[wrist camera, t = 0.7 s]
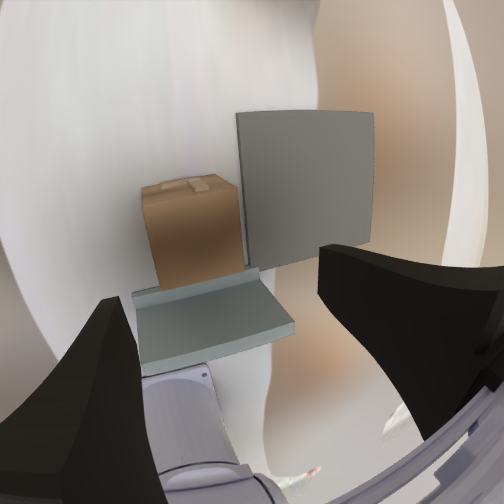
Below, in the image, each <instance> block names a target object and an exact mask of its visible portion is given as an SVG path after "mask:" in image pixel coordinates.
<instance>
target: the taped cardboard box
mask: <svg viewBox="0 0 504 504" xmlns="http://www.w3.org/2000/svg"><path fill="white" fill-rule="evenodd" d="M141 192H142V209H143V214H144V219H145V224H146V229H147V233H148V238H149V242H150V247H151V251H152V256H153V260H154V264H155V268H156V272H157V276H158V280H159V284H160V288H161V292H163V291H167V290H171V289H175V288H179V287H184V286H188V285H192V284H196V283H200V282H204V281H208V280H212V279H217V278H221V277H225V276H229V275H233V274H237V273H241V272H245V264H244V254H243V243H242V233H241V222H240V211H239V200H238V190H237V187H235V186H234V185H232V184H230V183H229V182H227V181H225V180H224V179H222V178H220V177H219V176H217V175H215V174H212V175H206V176H200V177H192V178H186V179H181V180H175V181H170V182H165V183H160V184H158V185H153V186H148V187H143V188H141Z"/></svg>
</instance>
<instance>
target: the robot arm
mask: <svg viewBox="0 0 504 504" xmlns="http://www.w3.org/2000/svg"><path fill="white" fill-rule="evenodd" d="M317 294H318V295H319V296H320V298H321V300H322V301H323V302H324V304H325V305H326V307H327V308H328V309H329V311H330V312H331V313H332V314H333V315H334V316H335V318H336V319H337V320H338V321H339V322H340V323H341V324H342V325H343V326H344V327H345V328H346V329H347V330H348V331H349V332H350V333H351V334H352V335H353V336H354V337H355V338H356V339H357V340H358V341H359V342H360V343H361V344H362V345H363V346H364V347H365V348H366V349H367V350H368V352H369V353H370V354H371V355H372V356H373V357H374V359H375V360H376V361H377V363H378V364H379V365H380V367H381V368H382V369H383V371H384V372H385V373H386V375H387V376H388V378H389V379H390V381H391V382H392V384H393V385H394V386H395V388H396V389H397V391H398V393H399V394H400V396H401V398H402V399H403V401H404V403H405V404H406V406H407V408H408V410H409V411H410V413H411V415H412V417H413V419H414V421H415V423H416V425H417V427H418V429H419V431H420V433H421V436H422V438H423V440H424V441H425V442H423V443H422V444H421V445H420V446H418V447H417V448H416V449H414V450H413V451H412V452H410V453H409V454H408V455H406V456H405V457H403V458H402V459H401V460H399V461H398V462H397V463H395V464H393V465H392V466H390V467H389V468H387V469H386V470H385V471H383V472H381V473H380V474H378V475H377V476H375V477H373V478H372V479H370V480H368V481H367V482H365V483H364V484H362V485H360V486H358V487H357V488H355V489H353V490H351V491H350V492H348V493H346V494H344V495H342V496H340V497H338V498H336V499H334V500H332V501H330V502H328V503H326V504H378V503H379V502H381V501H383V500H384V499H385V498H387V497H389V496H390V495H391V494H393V493H395V492H396V491H397V490H399V489H400V488H402V487H403V486H404V485H406V484H407V483H408V482H410V481H411V480H412V479H414V478H415V477H417V476H418V475H419V474H420V473H422V472H423V471H424V470H425V469H427V468H428V467H429V466H430V465H431V464H433V463H434V462H435V461H436V460H437V459H439V458H440V457H441V456H442V455H443V454H444V453H445V452H446V451H448V450H449V449H450V448H451V447H452V446H453V445H454V444H455V443H456V442H457V441H458V440H459V439H460V438H461V437H462V436H463V435H464V434H465V433H466V432H467V431H468V430H469V431H468V436H469V438H468V439H467V440H466V441H465V442H464V443H463V444H462V445H461V447H460V448H459V449H458V450H457V451H456V452H455V453H454V454H453V455H452V456H451V457H450V458H449V459H448V460H447V461H446V462H445V463H444V464H443V465H442V466H441V467H440V468H439V469H438V470H437V471H435V472H434V476H435V477H436V478H437V479H438V481H439V482H440V485H439V486H438V487H436V488H435V489H434V490H433V491H432V492H430V493H429V494H428V495H427V496H426V497H424V498H423V499H422V500H420V501H419V502H418V503H416V504H504V266H498V267H483V268H463V267H448V266H438V265H431V264H424V263H418V262H413V261H408V260H404V259H399V258H394V257H390V256H386V255H382V254H378V253H374V252H371V251H366V250H363V249H358V248H354V247H350V246H345V245H340V244H330V245H326V246H322V247H319V269H318V292H317ZM203 373H204V374H203ZM0 504H288V502H287V500H286V498H285V496H284V494H283V492H282V491H281V489H280V488H279V487H278V485H277V484H276V483H275V482H274V481H273V480H271V479H269V478H268V477H266V476H265V475H263V474H261V473H255V474H253V473H252V471H251V469H250V467H249V465H248V464H243V465H240V463H239V461H238V458H237V456H236V454H235V452H234V449H233V447H232V445H231V442H230V440H229V438H228V435H227V433H226V430H225V428H224V425H223V417H222V414H221V411H220V407H219V404H218V400H217V397H216V393H215V389H214V386H213V382H212V378H211V375H210V371H209V368H208V366H207V365H206V364H201V365H197V366H193V367H190V368H186V369H182V370H178V371H174V372H169V373H165V374H161V375H157V376H152V377H148V378H143V379H142V377H141V366H140V361H139V355H138V349H137V344H136V341H135V339H134V336H133V334H132V331H131V328H130V326H129V323H128V321H127V318H126V315H125V313H124V310H123V307H122V304H121V301H120V298H119V296H116V297H112V298H107V299H103V300H101V301H100V302H99V304H98V305H97V307H96V308H95V310H94V311H93V313H92V315H91V316H90V318H89V319H88V321H87V322H86V324H85V325H84V327H83V328H82V330H81V332H80V333H79V335H78V336H77V338H76V339H75V341H74V342H73V343H72V345H71V346H70V348H69V349H68V350H67V352H66V353H65V355H64V356H63V358H62V359H61V360H60V362H59V363H58V364H57V366H56V367H55V368H54V370H53V371H52V372H51V373H50V374H49V376H48V377H47V378H46V379H45V380H44V381H43V382H42V384H41V385H40V386H39V387H38V388H37V389H36V390H35V391H34V392H33V393H32V394H31V395H30V396H29V397H28V398H27V399H26V400H25V402H23V404H22V405H21V406H19V407H18V408H17V409H16V410H15V411H14V412H13V413H12V414H11V415H10V416H8V417H7V418H6V419H5V420H4V421H3V422H1V423H0Z"/></svg>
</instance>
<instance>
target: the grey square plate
mask: <svg viewBox="0 0 504 504" xmlns="http://www.w3.org/2000/svg"><path fill="white" fill-rule="evenodd" d="M236 120H237V132H238V144H239V155H240V167H241V179H242V190H243V202H244V213H245V225H246V236H247V247H248V259H249V266H250V267H255V266H258V267H259V272H260V271H263V270H267V269H271V268H275V267H279V266H283V265H287V264H290V263H294V262H298V261H302V260H305V259H309V258H313V257H317V256H319V247H322V246H326V245H330V244H340V245H345V246H350V247H353V246H357V245H361V244H364V243H368V242H370V232H371V220H372V204H373V185H374V113H368V112H352V111H326V110H325V111H324V110H323V111H322V110H286V111H260V112H244V113H236Z"/></svg>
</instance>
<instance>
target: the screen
mask: <svg viewBox="0 0 504 504" xmlns="http://www.w3.org/2000/svg"><path fill="white" fill-rule="evenodd" d="M132 299H133V302H134V305H135V308H136V315H137V329H138V341H139V352H140V361H141V366H142V368H143V370H144V372H145V375H146V376H151V375H155V374H160V373H164V372H168V371H172V370H176V369H180V368H184V367H188V366H192V365H196V364H200V363H203V362H207V361H211V360H214V359H218V358H221V357H225V356H228V355H232V354H235V353H238V352H242V351H245V350H248V349H251V348H254V347H258V346H261V345H264V344H267V343H270V342H273V341H276V340H279V339H282V338H285V337H287V336H291V335H294V334H295V321H294V320H293V319H292V318H291V317H290V315H289V314H288V313H287V312H286V310H285V309H284V308H283V307H282V306H281V304H280V303H279V302H278V301H277V300H276V298H275V297H274V296H273V295H272V294H271V292H270V291H269V290H268V289H267V287H266V286H265V285H264V284H263V283H262V281H261V280H260V278H259V267H258V266H255V267H250V266H249V265H247V266H245V272H241V273H237V274H233V275H229V276H225V277H221V278H217V279H212V280H208V281H204V282H200V283H196V284H192V285H188V286H184V287H179V288H175V289H171V290H167V291H163V292H161V288H160V287H156V288H152V289H147V290H143V291H139V292H135V293H132Z"/></svg>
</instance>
